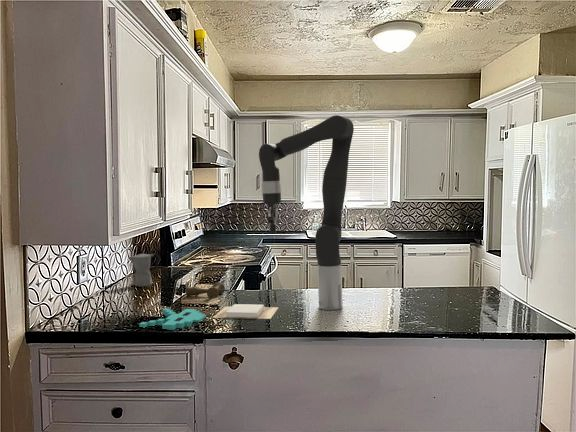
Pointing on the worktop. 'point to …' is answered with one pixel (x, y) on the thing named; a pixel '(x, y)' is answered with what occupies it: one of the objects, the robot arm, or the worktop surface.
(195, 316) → the alien figure
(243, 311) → the tile
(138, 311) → the worktop surface
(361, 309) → the worktop surface
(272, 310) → the tan flat rectangular board
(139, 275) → the coffeepot
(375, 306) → the worktop surface
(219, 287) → the kendama
